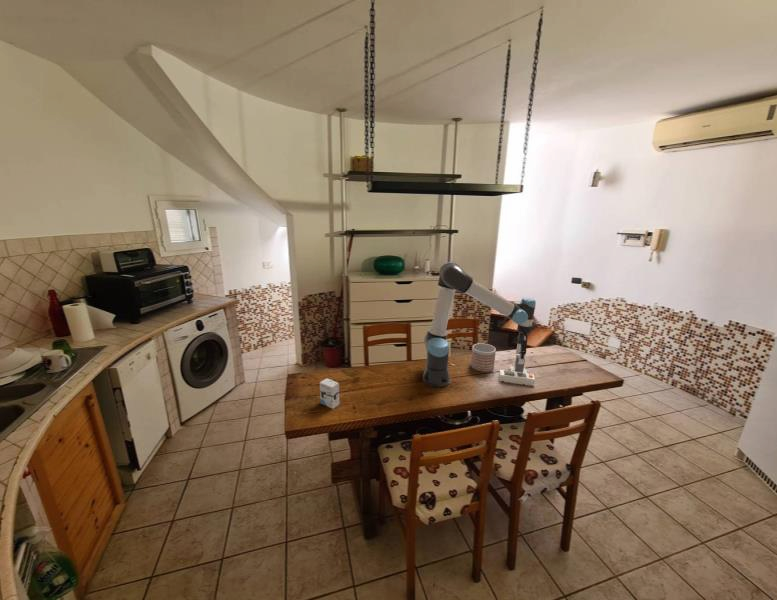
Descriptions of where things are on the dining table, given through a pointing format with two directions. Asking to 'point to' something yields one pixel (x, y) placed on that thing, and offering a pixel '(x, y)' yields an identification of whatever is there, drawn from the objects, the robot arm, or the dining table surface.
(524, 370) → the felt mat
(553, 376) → the dining table surface
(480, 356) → the planter
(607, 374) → the dining table surface
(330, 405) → the ink box
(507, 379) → the power strip
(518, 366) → the charger
